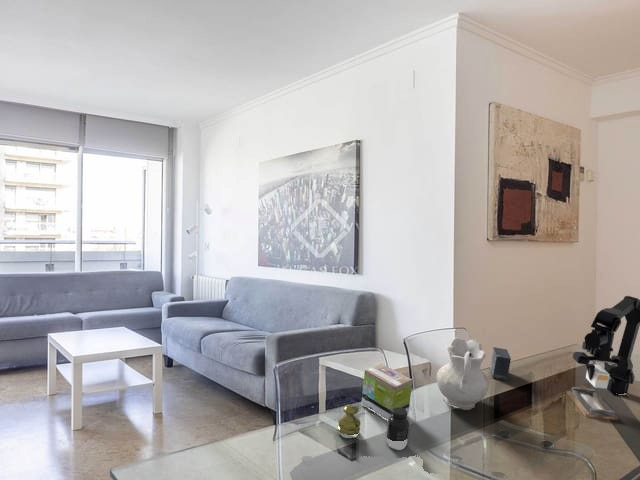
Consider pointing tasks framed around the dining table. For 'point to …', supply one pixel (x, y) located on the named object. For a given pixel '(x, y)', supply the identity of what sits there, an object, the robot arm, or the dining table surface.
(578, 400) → the rail mount
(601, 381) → the block
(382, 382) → the tea box
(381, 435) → the dining table surface
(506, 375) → the small box
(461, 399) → the ceramic pitcher
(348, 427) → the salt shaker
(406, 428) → the supplement bottle
